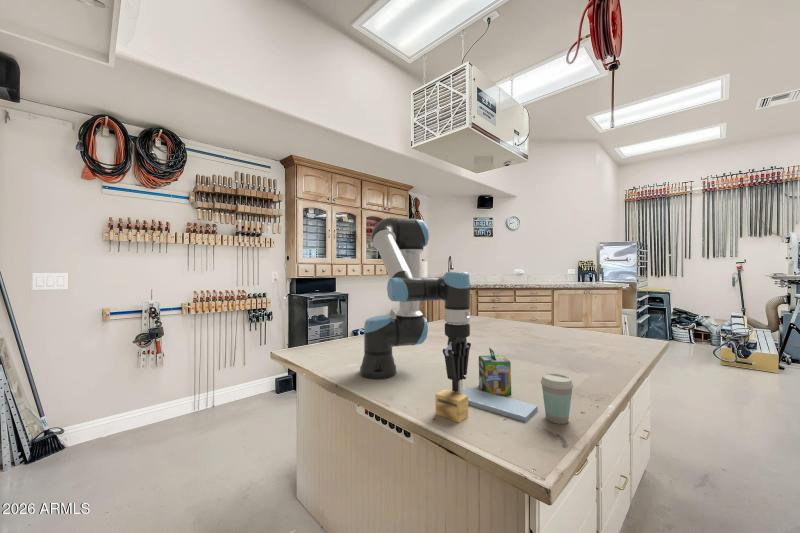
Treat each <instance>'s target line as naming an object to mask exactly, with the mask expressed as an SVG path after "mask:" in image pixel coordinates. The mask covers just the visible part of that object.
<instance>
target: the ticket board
mask: <svg viewBox="0 0 800 533" xmlns="http://www.w3.org/2000/svg"><path fill="white" fill-rule="evenodd" d="M463 395H467V396H468V406H471V407H475V408H477V409H482V410H486V411H488V412H491V413H495V414H497V415H501V416H505V417H508V418H510V419H514V420H517V421H521V422H524V423H527V422H528V421H529V420H530V419H531V417H532V416H534V415H535V414H536V412H538V410H539V408H538V407H539V406H538V405H536V404H533V403H528V402H524V401H521V400H517V399H514V398H513V399H512V398H510V397H505V396H501V395H495V394H491V393H487V392H484V391H482V390H481V389H476V388H471V387H469V386H468V387H463Z"/></svg>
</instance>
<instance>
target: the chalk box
mask: <svg viewBox="0 0 800 533" xmlns="http://www.w3.org/2000/svg"><path fill="white" fill-rule="evenodd" d="M488 350H489V354H488V355H478V386H479V388H480V391H484V392H487V393H491V394H495V395H499V396H501V395H504V396H509V395H510V396H511V395H512V373H511V372H512V371H511V370H512V369H511V366H512V365H511V361H510V360H509V359H508V358H506V357H505V356H504V355H495V352H494V349H492V348H491V347H488Z"/></svg>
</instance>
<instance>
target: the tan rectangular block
mask: <svg viewBox="0 0 800 533" xmlns="http://www.w3.org/2000/svg"><path fill="white" fill-rule="evenodd" d="M435 415H436V416H440V417H442V418H445V419H447V420H448V419H449V420H450V421H453V422H457V423H461V422H462V421H463V420H466V418H468V417H469V405H468V396H467V395H463V394H460V393H456V392H453V391H452V390H449V389H443V390H440V391H438V392H437V393H435Z"/></svg>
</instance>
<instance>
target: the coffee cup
mask: <svg viewBox="0 0 800 533" xmlns="http://www.w3.org/2000/svg"><path fill="white" fill-rule="evenodd" d="M540 384H541V389H542V398H543V404H544V412H545V419H546V420H547V421H549V422H550V423H554V424H558V425H559V424H560V425H565V424H568V422H569V418H570V411H571V402H572V394H573V388H574V383H573V380H572V378H571V377H570V376H567V375H565V374H560V373H555V372H554V373H553V372H550V373H548V372H547V373H544V374H542V377H541V379H540Z"/></svg>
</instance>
